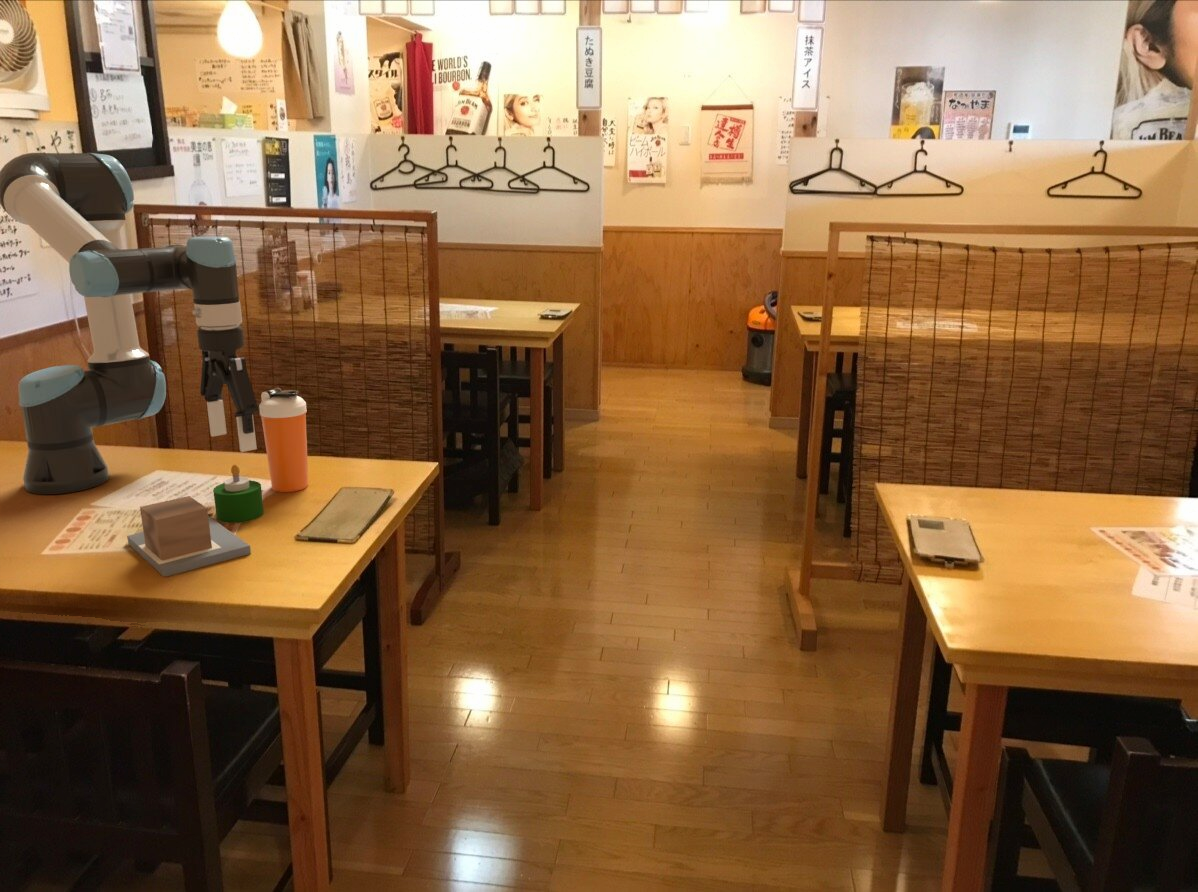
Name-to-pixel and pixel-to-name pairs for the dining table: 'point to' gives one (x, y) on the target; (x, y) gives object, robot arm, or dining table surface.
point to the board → (222, 550)
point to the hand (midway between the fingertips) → (233, 442)
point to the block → (176, 527)
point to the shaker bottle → (285, 438)
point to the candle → (238, 499)
